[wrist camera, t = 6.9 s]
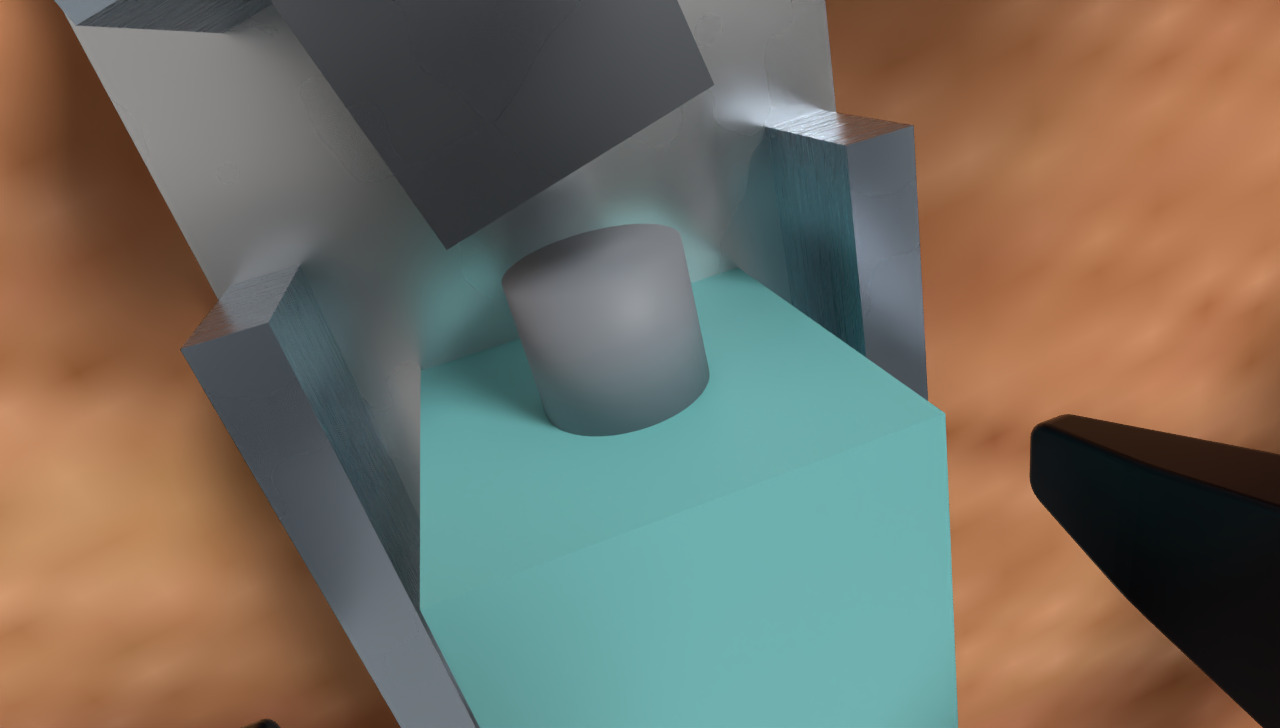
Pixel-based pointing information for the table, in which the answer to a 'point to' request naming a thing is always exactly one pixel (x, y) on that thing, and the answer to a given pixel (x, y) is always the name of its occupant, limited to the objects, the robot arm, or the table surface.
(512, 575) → the coupler
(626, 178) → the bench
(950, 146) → the table surface
